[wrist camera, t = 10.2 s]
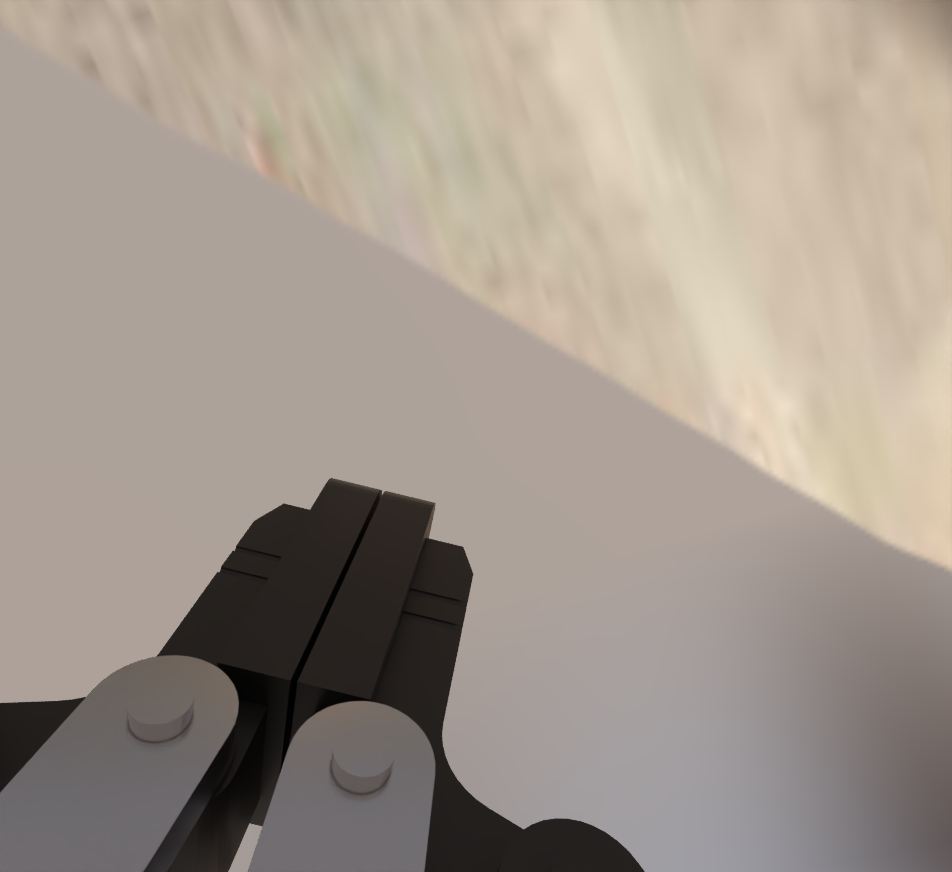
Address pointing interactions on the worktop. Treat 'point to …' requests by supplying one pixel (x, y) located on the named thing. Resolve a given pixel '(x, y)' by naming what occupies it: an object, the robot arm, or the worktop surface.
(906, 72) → the worktop surface
